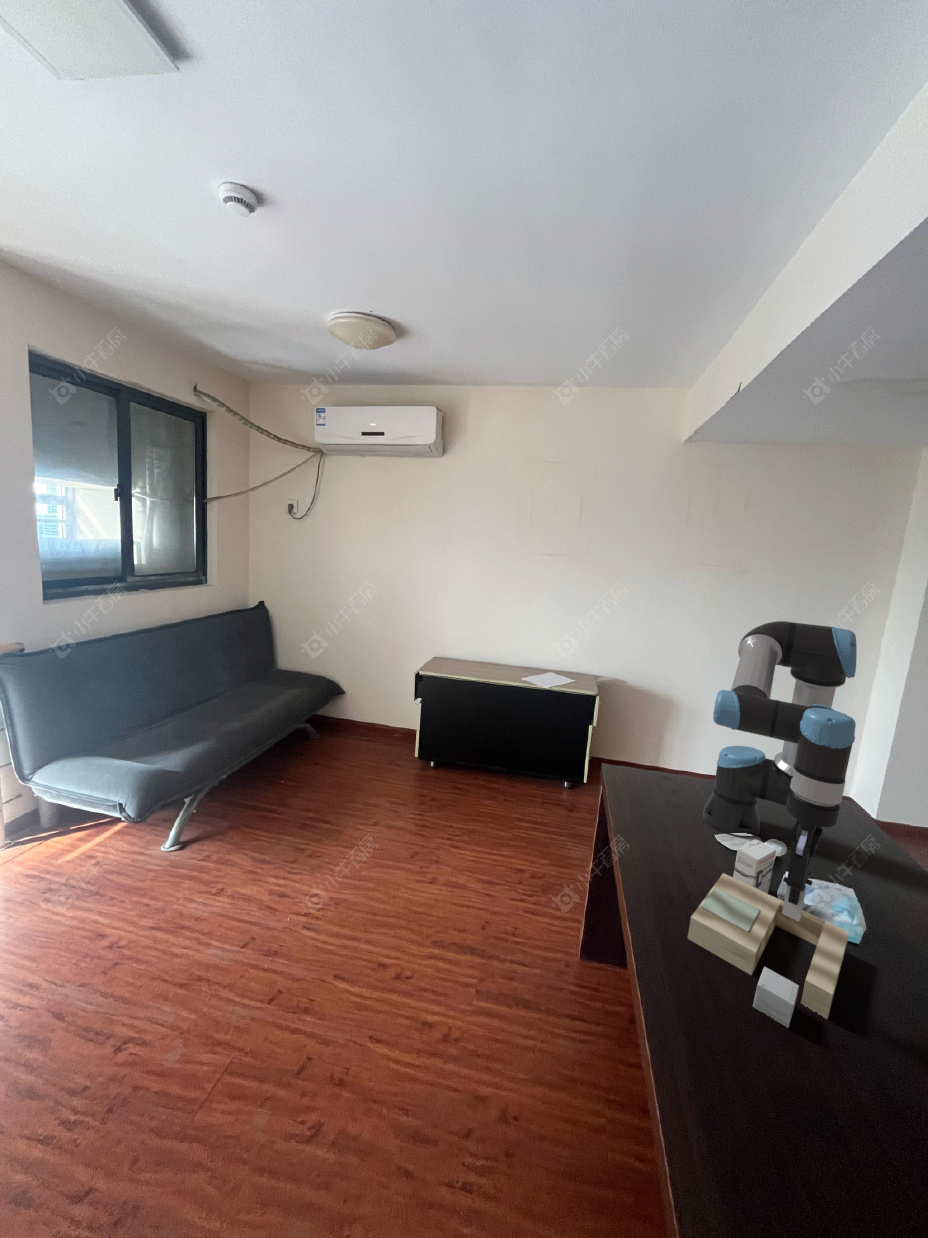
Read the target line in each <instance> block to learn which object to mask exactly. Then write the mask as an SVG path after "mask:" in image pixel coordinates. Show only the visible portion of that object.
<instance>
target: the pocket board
mask: <svg viewBox="0 0 928 1238" xmlns="http://www.w3.org/2000/svg"><path fill="white" fill-rule="evenodd" d="M783 905H784V900H783V899H782V900H781V899H780V898H777V897H775V896H773V895H770V894H767V893H765V892H763V891H761V890H758V889H756V888H754V887H752V886H750V885H748V884H746V883H743V882H741V881H739V880H737V879H735V878H733V876H731V875H728V874H726V873H724V872H723V873H722V874H721V875H720V877H719V878H718V879H717V881H716V882H715V883H714V885H713V886H712V888H711V889H710V890H709V892H708V893H707V894H706V896H705V897H704V899H703V900H702V901H701V903H700V904H699V905H698V907H697V908H696V909H695V910H694V912H693V913H692V914H691V916H690V919H689V920H690V921H689V928H688V934H687V939H688V940H689V941H691V942H693V943H695V944H696V945H698V946H699V947H701V948H703V949H705V950H707V951H709V952H710V953H712V954H713V955H715V956H716V957H719V958H721V959H722V960H724V961H726V962H727V963H729V964H731V965H732V966H735V967H736V968H738V969H739V970H741V971H743V972H745V973H747V974H748V975H749V976H752V975H753V974H754V971H755V970H756V966H757V965H758V963H759V961H760V959H761V956H762V954H763V952H764V951H765V949H766V946H767V944H768V942H769V940H770V938H771V935H772V934H773V931H774V929H775V927H776V926H777V927H778V928H780V929H782V930H785V931H786V932H788V933H790V934H792V935H794V936H796V937H798V938H800V939H802V940H804V941H806V942H808V943H810V944H812V945H814V946H815V947H816V948H815V951H814V954H813V956H812V959H811V962H810V965H809V969H808V971H807V975H806V978H805V980H804V985H803V990H802V994H801V1000H800V1005H801V1004H803V1005H804V1006H803V1005H802V1006H803V1007H805V1008H807V1007H808V1008H809V1009H808V1008H807V1009H808V1010H810V1009H811V1010H810V1011H812V1012H814V1013H815V1012H817V1013H818V1014H817V1013H816V1014H817V1015H819V1016H820V1015H821V1017H822V1016H823V1017H822V1018H824V1019H826V1020H828V1018H829V1015H830V1010H831V1008H832V1007H831V1006H832V1005H833V1004H832V1003H833V1000H834V995H835V992H836V988H837V984H838V980H839V976H840V971H841V967H842V965H843V962H844V961H843V960H844V957H845V952H846V948H847V945H848V940H849V935H850V932H849V931H848V930H845V929H843V928H841V927H839V926H837V925H835V924H833V923H831V922H829V921H827V920H824V919H822V918H820V917H818V916H816V915H813V914H812V913H809V912H807V911H805V910H803V909H802V914H801V918H800V921H799V922H798V921H796V920H794V919H792V918H790V917H788V916H786V915H784V914H782V910H783Z"/></svg>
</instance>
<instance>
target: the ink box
mask: <svg viewBox="0 0 928 1238" xmlns="http://www.w3.org/2000/svg"><path fill="white" fill-rule="evenodd" d="M776 851H777V850H776V849H774V848H773V847H771V846H769V845H768V844H765V843H764V842H762V841H760V840H759V839H753V840H751V841H749V842H746V843H745V844H743V845H742V846H740V847H738V848H737V851H736V852H737V853H736V859H735V863H734V870H733V874H732V877H733V878H735V879H737V880H739V881H741V882H743V883H746V884H748V885H750V886H752V887H754V888H756V889H758V890H761V891H763V892H765V893H767V894H768V893H769V890H770V889H769V888H770V885H771V879H772V876H773V869H774V864H775V857H776Z"/></svg>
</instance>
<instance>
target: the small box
mask: <svg viewBox="0 0 928 1238" xmlns="http://www.w3.org/2000/svg"><path fill="white" fill-rule="evenodd" d="M761 971H762V972H761V974H760V976H759V979H758V982H757V985H756V990H755V994H754V999H753V1004H752V1008H754V1009H755V1010H757V1011H759V1012H760V1013H762V1012H763V1014H764V1013H765V1014H766V1015H765V1014H764V1015H765V1016H767V1017H769V1016H770V1017H771V1018H770V1017H769V1018H770V1019H772V1018H773V1019H772V1020H774V1021H775V1022H777V1023H779V1024H780V1025H782V1026H784V1027H785V1026H786V1027H785V1028H787V1029H789V1027H790V1023H791V1021H792V1016H793V1013H794V1010H795V1006H796V1002H797V997H798V994H799V987H800V985H799V984H797V983H795V982H793V981H792V980H790V979H788V978H786V977H785V976H783V975H780V974H779V973H777V972H775V971H774V970H772V969H770V968H769V967H766V966H764V967H763V969H762V970H761Z"/></svg>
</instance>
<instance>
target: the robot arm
mask: <svg viewBox="0 0 928 1238" xmlns="http://www.w3.org/2000/svg"><path fill="white" fill-rule="evenodd" d="M857 650H858V649H857V635H856V634H855V633H854V631H852V630H850V629H845V628H840V627H835V626H827V625H826V626H825V625H817V624H810V623H801V622H792V621H787V620H786V621H785V620H780V621H770V622H767V623H763V624H761V625H758V626H756V627H754V628H752V629H751V630H750V631H748V632H747V633H746V634H744V635H743V638H741V640H740V643H739V644H738V650H737V653H738V657H739V661H738V665H737V667H736V671H735V675H734V678H733V681H732V685H731V688H730V690H727V689H722V690H719V691H718V692H717V694H716V697H715V701H714V702H715V703H714V708H713V714H712V715H713V722H714V723H715V724H716V725H718V726H721V727H726V728H728V729H731V730H735V731H739V732H740V731H741V732H745V733H750V734H754V735H759V736H764V737H768V738H771V739H775V740H778V741H779V740H780V741H783V746H782V749H781V752H778V753H776V754H775V755H774V758H773V759H772V758H771V759H770V758H766V754H765V752H763V751H762V750H760V749H757V748H755V747H751V746H745V745H730V746H726V747H725V746H724V748H722V749H721V750H720V751H719V754H718V758H717V761H716V765H717V767H716V772H715V778H714V784H713V788H712V789H713V790H712V793H711V795H710V796H709V798H708V800H707V801H706V803H705V805H704V807H703V811H702V818H703V820H704V821H705V822H706V823H707V824H708V825H709V826H711V827H713V828H714V829H715V830H718V831H720V832H723V833H725V834H728V833H747V834H752V835H755V836H754V837H756V836H758V835H759V833H760V829H761V820H760V816H759V810H758V805H757V804H758V799H760V800H764V801H767V802H771V803H773V804H777V805H780V806H784V807H785V808H786V812H787V813H788V814H790V815H791V817H794V818H795V819H796V822H795V823H794V825H793V827H792V830H791V831H792V833H791V834H792V840H791V841H792V842H791V844H790V847H791V848H790V858H789V862H788V863H789V865H788V871H787V876H784V878H783V880H782V881H783V882H784V883H785V884H786V889H785V896H784V900H783V901H784V905H783V910H782V914H784V915H786V916H788V917H790V918H792V919H794V920H796V921H798V922H799V921H800V918H801V914H802V910H803V908H804V901H805V897H806V892H807V887H808V886H812V885H813V880H810V879H809V877H810V876H811V874H812V872H811V869H812V865H813V860H814V856H815V854H816V851H817V849H818V848H819V842H820V839H821V837H822V836H823V832H824V831H823V830H824V829H823V828H832V827H835V826H836V825H837V823H838V818H839V813H840V808H841V807H840V804H841V803H842V799H843V795H844V792H845V791H844V790H845V786H846V775H847V770H848V767H849V762H850V759H851V758H850V757H851V754H852V753H851V752H852V748H853V743H855V741H856V735H855V732H856V724H857V723H856V721H855V719H854V718H853V717H852V716H850V715H847V714H846V713H843V712H840V711H838V710H835V709H833V708H832V706H833V703H834V698H835V694H836V689H837V688H839V687H840V688H841V686H844V685H845V684H846V679H852V678H854V677H855V676H856V671H857V656H858V655H857V652H858V651H857ZM776 666H781V667H785V668H790V673H789V674H790V675H791V676H792V678H793V679H794V680H795V683H794V689H793V693H792V697H791V702H787V701H782V700H777V699H772V698H771V694H772V688H773V683H774V682H773V681H774V676H775V671H776ZM807 885H808V886H807Z"/></svg>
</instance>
